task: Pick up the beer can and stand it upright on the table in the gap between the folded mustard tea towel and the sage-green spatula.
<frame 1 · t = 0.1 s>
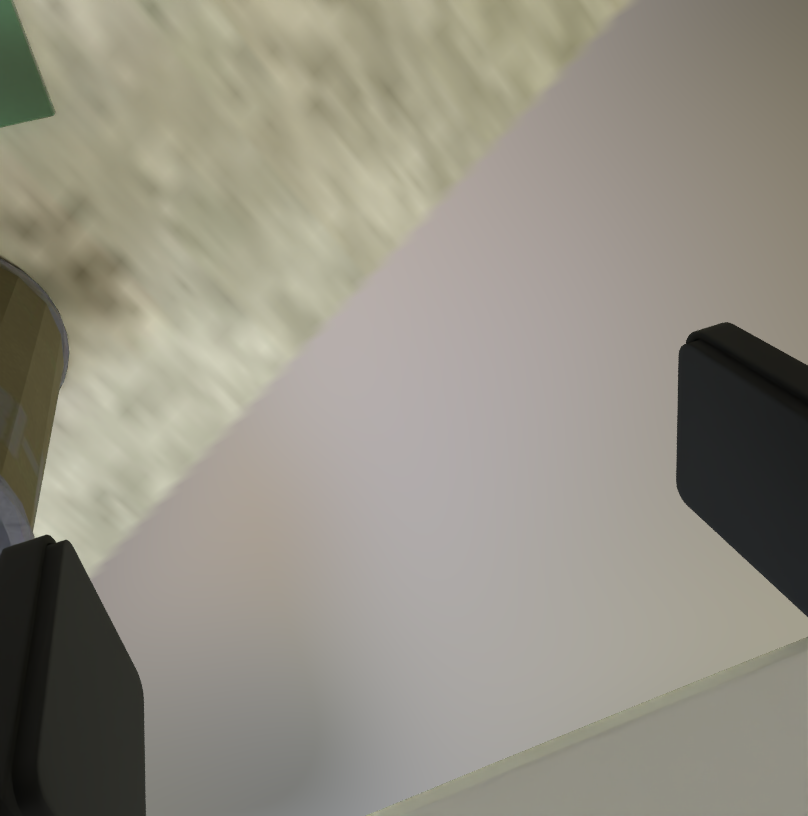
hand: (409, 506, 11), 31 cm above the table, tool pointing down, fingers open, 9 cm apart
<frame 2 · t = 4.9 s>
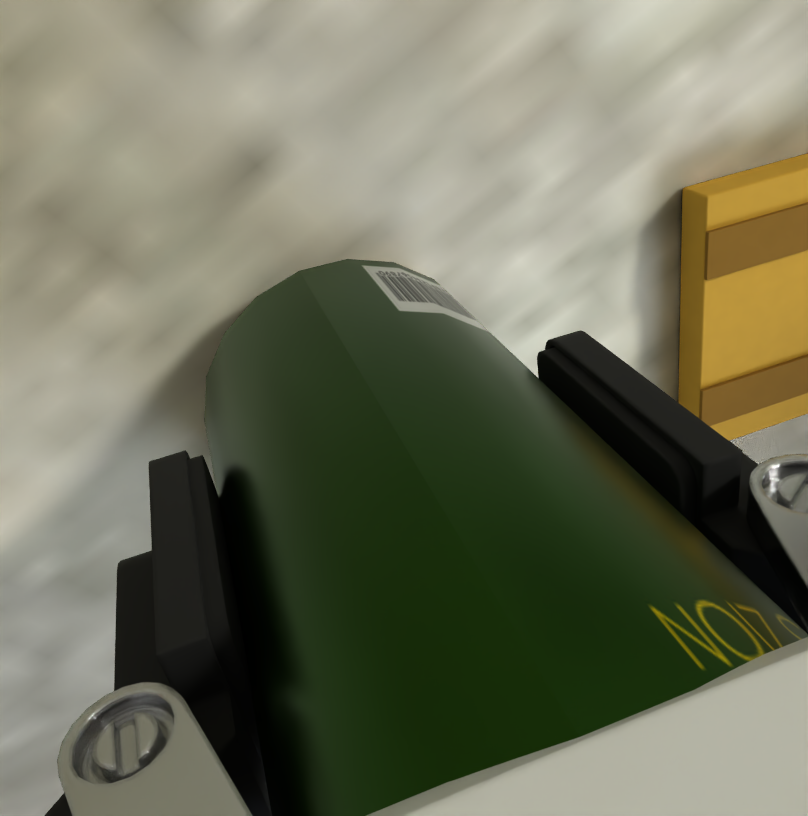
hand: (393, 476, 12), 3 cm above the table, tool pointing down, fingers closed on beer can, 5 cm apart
beer can: (339, 377, 15), on the table, touching gripper
when the fingers open (3 cm above the table, at t = 12.0 s): beer can stays where it is, on the table.
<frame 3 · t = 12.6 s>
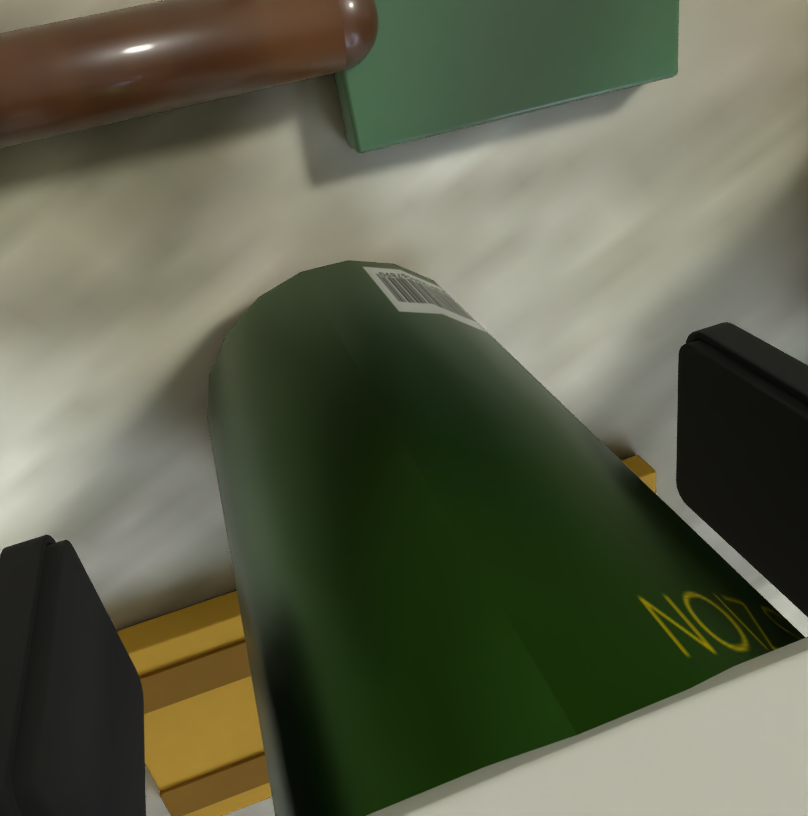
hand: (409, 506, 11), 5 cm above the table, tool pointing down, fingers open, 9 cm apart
beer can: (340, 377, 15), on the table
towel: (404, 632, 19), on the table
spatula: (198, 46, 12), on the table
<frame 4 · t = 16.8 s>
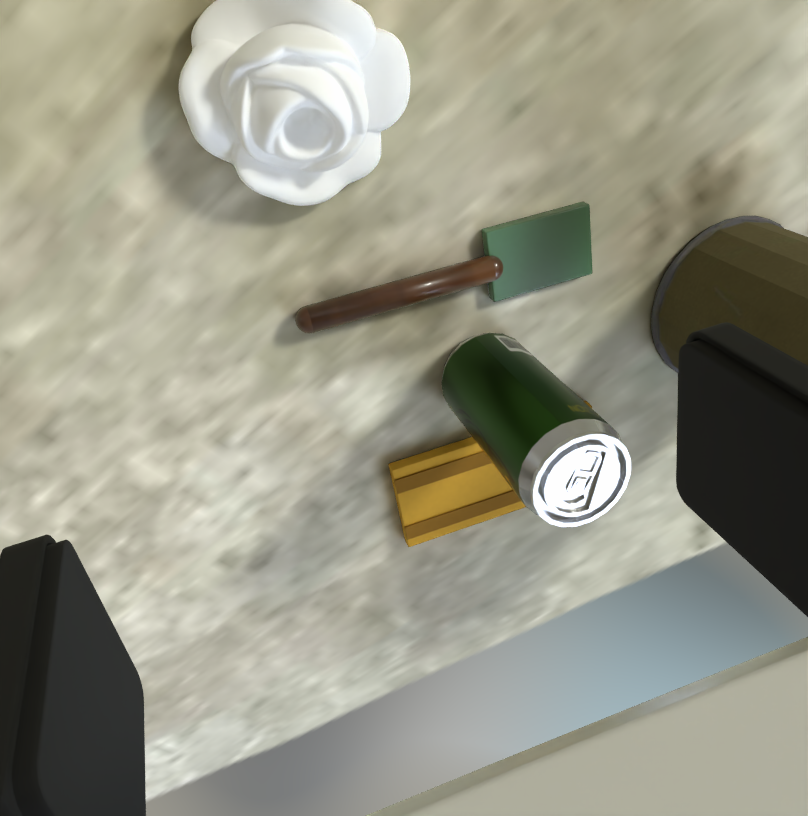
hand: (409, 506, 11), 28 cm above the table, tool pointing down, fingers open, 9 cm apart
rose: (294, 91, 35), on the table
beer can: (479, 370, 45), on the table
canister: (719, 299, 48), on the table
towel: (494, 470, 48), on the table
spatula: (450, 274, 41), on the table
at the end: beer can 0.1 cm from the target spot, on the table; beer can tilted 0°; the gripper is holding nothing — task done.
